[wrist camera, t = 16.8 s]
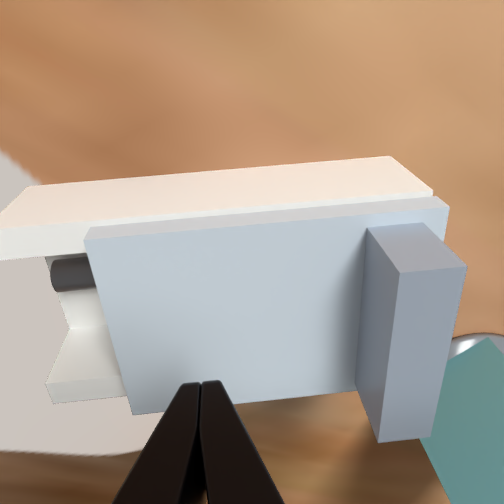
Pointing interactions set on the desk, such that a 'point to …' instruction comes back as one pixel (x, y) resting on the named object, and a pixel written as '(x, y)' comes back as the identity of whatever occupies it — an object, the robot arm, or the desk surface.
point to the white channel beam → (158, 209)
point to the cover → (286, 306)
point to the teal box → (470, 427)
